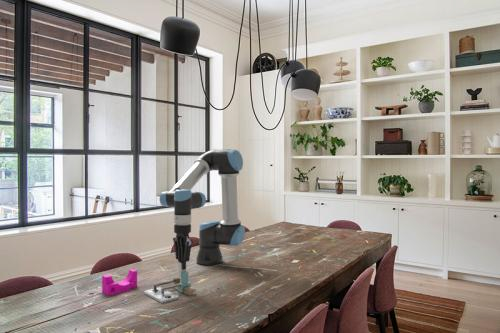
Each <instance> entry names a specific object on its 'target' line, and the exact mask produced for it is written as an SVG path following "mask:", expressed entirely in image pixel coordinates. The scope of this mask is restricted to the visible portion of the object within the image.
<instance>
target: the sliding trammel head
mask: <svg viewBox="0 0 500 333" xmlns="http://www.w3.org/2000/svg"><path fill="white" fill-rule="evenodd" d="M180 282H181V283H179V284H177V285H173V286H171V285H169V286H165V287H161V290H162V294H164V290H167V291H168V290H170V289H174V288H175V287H178V290H177V291H178V292H180V293H181V294H182V293H183V287H185V286H190V287H192V282H190V281H189V271H187V270H186V271H184V272H181V277H180ZM183 294H184V293H183Z"/></svg>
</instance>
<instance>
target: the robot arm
mask: <svg viewBox="0 0 500 333" xmlns="http://www.w3.org/2000/svg"><path fill="white" fill-rule="evenodd" d="M243 166H244V161H243V156H242V153H240V151H239V150H237V149H231V148H230V149H210V150H208V151H206V152H204V153H203V154H201V155H199V157H198V158H196V159H195V161H194V162H193V165H192V166H191V168H189V169H188V171H187V172H186V173H185V174H184V175H183V176H182V177H181V178H180V179H179V180H178V181H177V182H176V183H175V185H173V187H172V188H171V189H170V190H167V191H162V192H161V193H160V195H159V203H160V205H161V206H162V207H167V208H173V209H174V212H173V222H174V225H173V230H174V231H173V232H174V234H175V237H173V238H172V241H173V244H174V255H175V259H176V260H177V261H178V277H179V278H181V272H184V271H187V262H189V261H190V257H191V250H192V245H193V241H192V240H190V233H192V224H191V223H192V210H194V209H199V208H202V207H204V206H205V205H206V203H207V197H206V195H205V194H204V193H203V192H201V191H195V192H192V189H193V188H194V187H195V186H196V184H197V183H198V182H199V181H200V180H201V179H202V177H203V176H204V175H207V174H209V172H211V171H217V172H218V176H220V178H221V179H220V180H221V205H222V207H221V209H222V210H221V211H222V219H221V220H211V221H205V222H201V223H200V224H199V229H198V231H199V233H198V234H199V235H198V236H199V243H198V244H199V245H198V246H199V249H198V251H197V254H196V259H195V260H196V261H195V262H196V263H197V264H198V265H206V266H209V265H218V264H221V263H222V262H223V254H222V251H221V248H220V246H221V245H222V246H230V247H239V246H240V245H241V244H243V241H244V240H245V235H246V228H245V226H244V225H242V224H241V223H242V221H241V220H240V219H239V216H238V215H239V210H238V183H237V182H238V178H237V176H239V175H240V171H241V170H242V169H243Z"/></svg>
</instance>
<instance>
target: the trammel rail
mask: <svg viewBox="0 0 500 333" xmlns="http://www.w3.org/2000/svg"><path fill="white" fill-rule="evenodd" d="M179 283H181V277H179V276H178V277H174V278H173V279H171V280H167V281H162V282H160V283H155V284H153V289H154V290H157V288H158V286H159V287H161V286H163V285H168V284H170V286H173V285H177V284H179ZM173 289H175V290H176V291H178V287H175V288H173ZM196 292H197V290H196V288H195V287H193V286H191V287H190V286H185V287H183V294H185V295H188V296H194V295H196V294H197V293H196Z"/></svg>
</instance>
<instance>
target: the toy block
mask: <svg viewBox="0 0 500 333" xmlns="http://www.w3.org/2000/svg"><path fill="white" fill-rule="evenodd" d="M136 287H138V270H136V269H133V268H132V269H129V270H128V273H127V275H126V277H125V278H124V279H123V280H120V281H117V282H116V281H114V279H113V276H112V275H110V274H108V273H107V274H104V275H102V277H101V292H102V293H103V294H104V295H107V296H112V295H115V294H116V295H117V294H118V293H122V292H128V291H131V288H136Z"/></svg>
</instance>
